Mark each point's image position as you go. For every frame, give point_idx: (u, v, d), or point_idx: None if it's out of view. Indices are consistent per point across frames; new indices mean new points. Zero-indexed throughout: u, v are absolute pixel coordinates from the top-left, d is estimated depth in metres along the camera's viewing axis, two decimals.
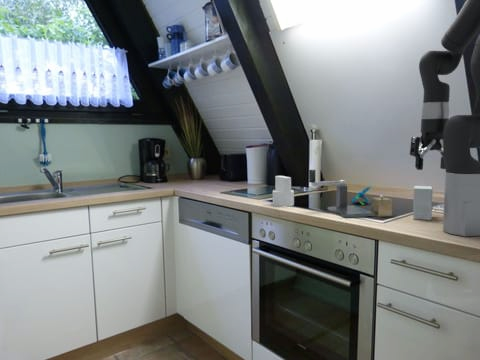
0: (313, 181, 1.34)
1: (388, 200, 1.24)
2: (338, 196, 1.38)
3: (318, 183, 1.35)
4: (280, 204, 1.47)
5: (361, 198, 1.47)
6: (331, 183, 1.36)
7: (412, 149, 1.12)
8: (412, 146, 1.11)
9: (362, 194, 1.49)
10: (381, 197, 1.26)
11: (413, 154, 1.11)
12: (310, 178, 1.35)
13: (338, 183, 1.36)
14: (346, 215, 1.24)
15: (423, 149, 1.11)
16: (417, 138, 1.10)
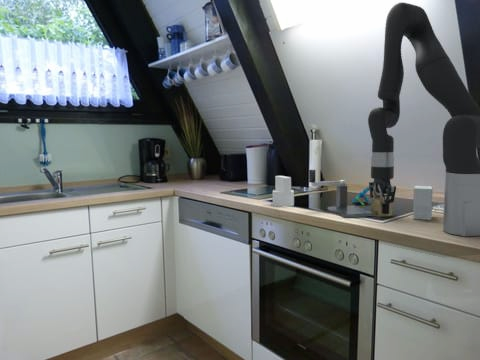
0: (313, 181, 1.34)
1: None
2: (338, 196, 1.38)
3: (318, 183, 1.35)
4: (280, 204, 1.47)
5: (361, 198, 1.47)
6: (331, 183, 1.36)
7: None
8: (390, 195, 1.20)
9: (363, 194, 1.49)
10: None
11: (391, 201, 1.21)
12: (310, 178, 1.35)
13: (338, 183, 1.36)
14: (346, 215, 1.24)
15: None
16: None
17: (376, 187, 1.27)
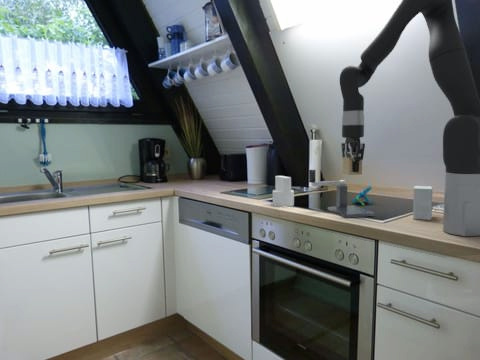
0: (313, 181, 1.34)
1: None
2: (338, 196, 1.38)
3: (318, 183, 1.35)
4: (280, 204, 1.47)
5: (362, 198, 1.47)
6: (331, 183, 1.36)
7: None
8: (359, 152, 1.22)
9: (363, 194, 1.49)
10: None
11: (361, 159, 1.23)
12: (310, 178, 1.35)
13: (338, 183, 1.36)
14: (346, 215, 1.24)
15: (358, 153, 1.26)
16: (364, 145, 1.22)
17: (347, 146, 1.29)
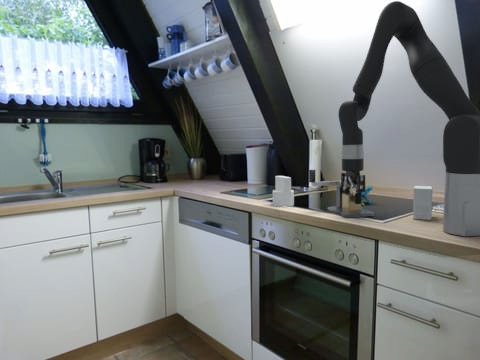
0: (313, 181, 1.34)
1: None
2: (338, 196, 1.38)
3: (318, 183, 1.35)
4: (280, 204, 1.47)
5: (362, 198, 1.46)
6: (331, 183, 1.36)
7: None
8: (361, 184, 1.22)
9: (364, 194, 1.49)
10: (351, 193, 1.29)
11: (363, 190, 1.22)
12: (310, 178, 1.35)
13: (338, 183, 1.36)
14: (346, 215, 1.24)
15: (360, 185, 1.25)
16: None
17: (347, 179, 1.30)
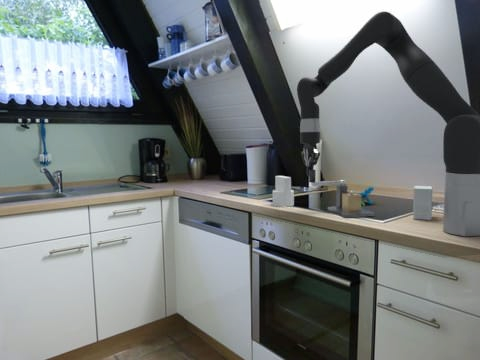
0: (313, 181, 1.34)
1: (357, 195, 1.28)
2: (338, 196, 1.38)
3: (318, 183, 1.35)
4: (280, 204, 1.47)
5: (362, 198, 1.46)
6: (331, 183, 1.36)
7: None
8: (314, 159, 1.34)
9: (365, 194, 1.48)
10: (351, 193, 1.29)
11: (314, 164, 1.36)
12: (310, 178, 1.35)
13: (338, 183, 1.36)
14: (346, 215, 1.24)
15: None
16: (319, 154, 1.32)
17: (305, 151, 1.38)
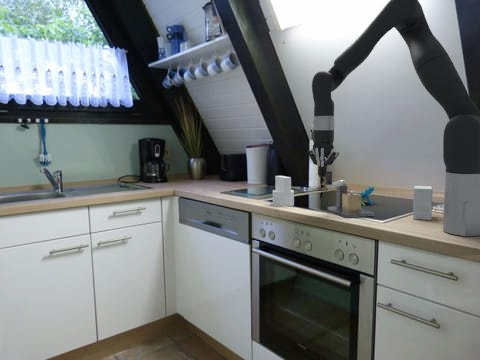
0: (331, 183, 1.27)
1: (357, 195, 1.28)
2: (338, 196, 1.38)
3: (333, 185, 1.29)
4: (280, 204, 1.47)
5: (363, 198, 1.46)
6: (339, 184, 1.33)
7: None
8: (332, 159, 1.26)
9: (365, 194, 1.48)
10: (351, 193, 1.29)
11: (329, 164, 1.28)
12: (329, 180, 1.27)
13: (342, 183, 1.36)
14: (346, 215, 1.24)
15: (327, 159, 1.29)
16: None
17: (318, 150, 1.29)
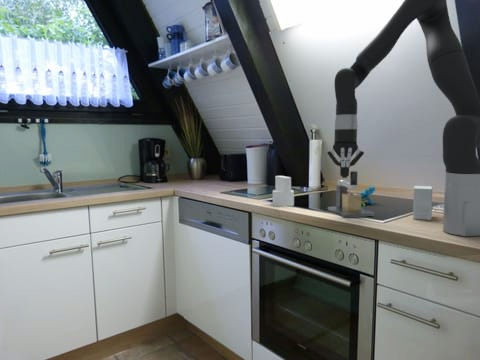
0: None
1: (357, 195, 1.28)
2: (338, 196, 1.38)
3: None
4: (280, 204, 1.47)
5: (363, 199, 1.46)
6: None
7: None
8: None
9: (366, 195, 1.48)
10: (351, 193, 1.29)
11: None
12: (356, 180, 1.24)
13: None
14: (346, 215, 1.24)
15: None
16: None
17: (344, 151, 1.23)
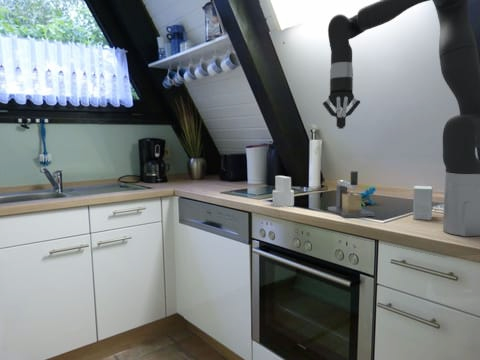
0: None
1: (357, 195, 1.28)
2: (338, 196, 1.38)
3: None
4: (280, 204, 1.47)
5: (363, 199, 1.45)
6: None
7: None
8: (354, 109, 1.23)
9: (366, 195, 1.47)
10: (351, 193, 1.29)
11: None
12: (356, 180, 1.24)
13: None
14: (346, 215, 1.24)
15: None
16: None
17: (339, 100, 1.22)
